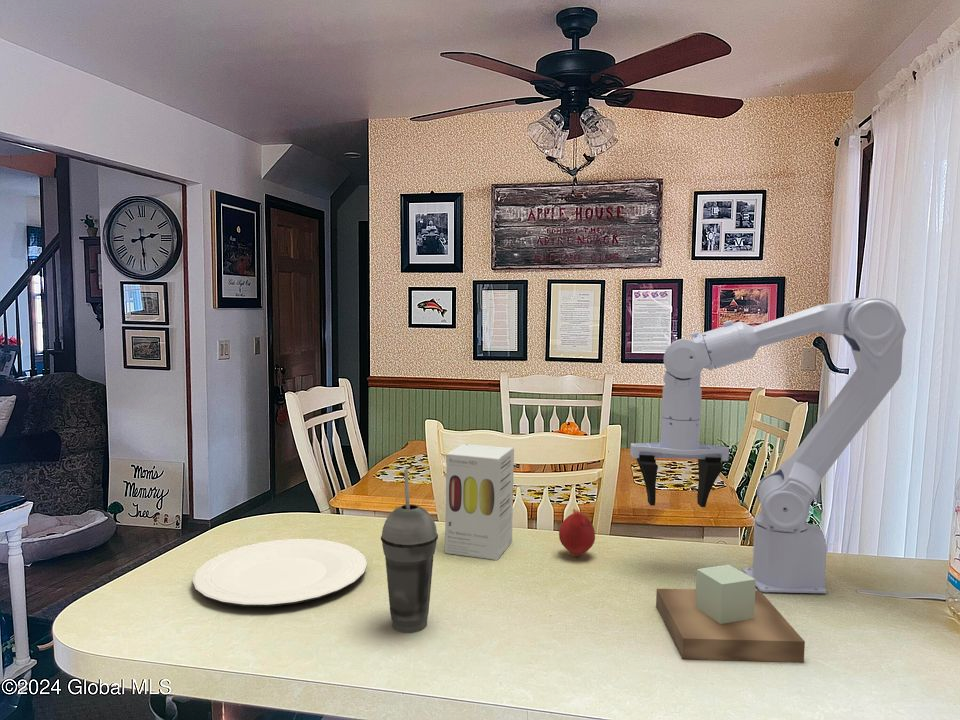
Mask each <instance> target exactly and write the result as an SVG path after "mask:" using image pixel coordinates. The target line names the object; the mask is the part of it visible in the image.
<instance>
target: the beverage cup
mask: <svg viewBox="0 0 960 720" xmlns="http://www.w3.org/2000/svg"><path fill="white" fill-rule="evenodd" d="M403 472H404V473H403V474H404V478H403V479H404V492H405V493H404V498H405V499H404V500H405V504H403V505H401V506H398V507H397V508H395V509H393V510H392V511H391V512H390V513H389V514H388V516H387V517H386V519H385V521H384V524H383V527H382V531H381V536H380V540H381V543H382V544H381V545H382V551H383V554H384V557H385V558H384V559H385V569H386V571H385V572H386V580H387V581H386V583H387V591H388V601H389V602H388V603H389V614H390V618H391V626H392V629H394V630H395V631H398V632H401V633H409V634H411V633H416V632H417V633H418V632H419V631H422V630H424V629H425V628H426V627H428V618H429V617H428V615H429V611H430V599H431V589H432V578H433V567H434V565H433V564H434V555H435V553H436V548H437V542H438V541H437V540H438V538H439V534H438V532H437V531H438V530H437V525H436V522H435V520H434V518H433V516H432V515H431V514H430V513H429V512H428V511H427V510H426V508H424V507H421V506H420V505H417V504H411V503H410V487H409V469H403Z"/></svg>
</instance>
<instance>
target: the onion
mask: <svg viewBox="0 0 960 720" xmlns="http://www.w3.org/2000/svg"><path fill="white" fill-rule="evenodd" d="M558 536H559V537H558V538H559V542H560V543H561V545H562V547H564V548H565V549H566V550H567V551H568V552H569V554H570V555H572V556H573V557H575V558H579V557H580V556H581V555H583V554H585V553H586V552H588V551H589V550H590V549H591V548H592V547H593V545H594V544H595V540H596V533H595V528H594V525H593V522H591V520H590V519H589V518H588V517H587V516H585V514H583V513H582V512H581V511H580V509H578V508H576V507H575V508H573V509H572V513H571V514H569V515H568V516H567V517H566V518H564V520H563V521H562V523H561V524H560V527H559V530H558Z"/></svg>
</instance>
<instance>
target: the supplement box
mask: <svg viewBox="0 0 960 720" xmlns="http://www.w3.org/2000/svg"><path fill="white" fill-rule="evenodd" d="M514 460H515V448H514V447H512V446H508V447H507V446H495V445H487V444H486V445H485V444H473V443H466V442H465V443H463V444H461V445H459V446H457V447H456V448H454V449H452V450H451V451H449V452H447V453H446V465H445V467H446V469H445V470H446V471H445V473H446V474H445V482H446V483H445V519H444V520H445V531H444V533H445V535H444V554H449V555H458V556H466V557H472V558H478V559H479V558H480V559H487V560H493V561H498V560H499V559H500V558H501V557H502V555H503V554H504V553H505V552H506V550H507V549H508V547H510V545H511V544H512V543H513V518H514V517H513V516H514V515H513V514H514V513H513V511H514V507H513V506H514V500H513V499H514V471H515V470H514V469H515V467H514V466H515V465H514V463H515V461H514Z"/></svg>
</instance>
